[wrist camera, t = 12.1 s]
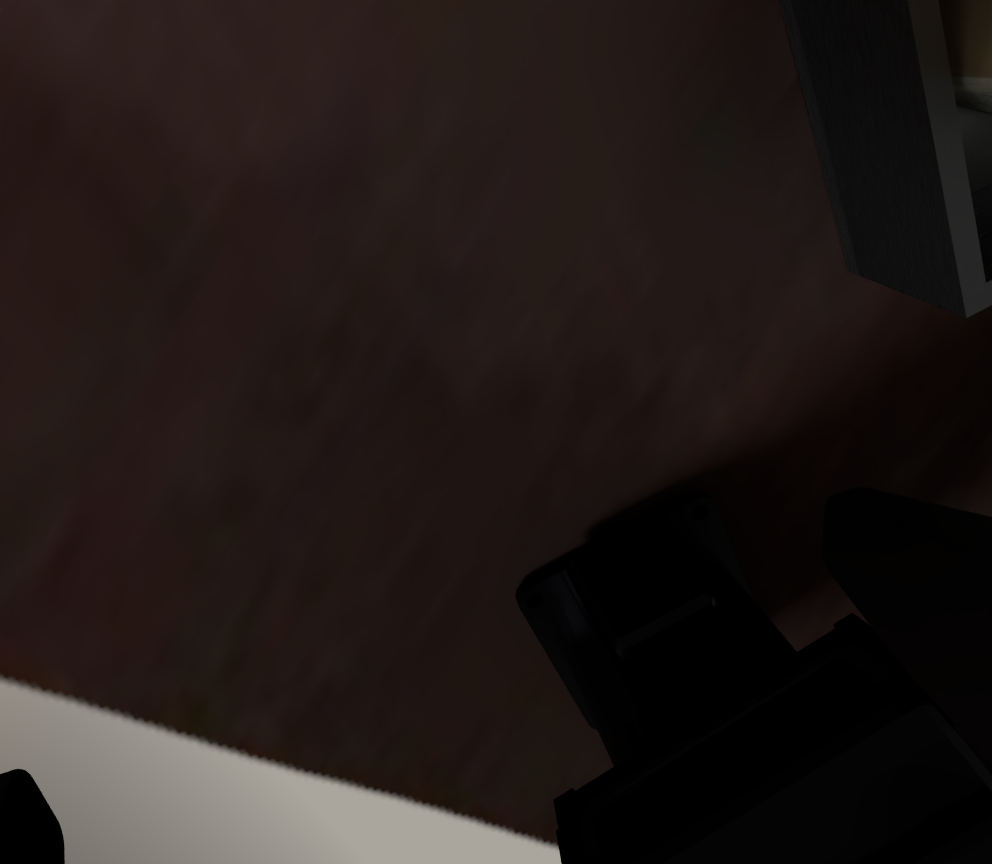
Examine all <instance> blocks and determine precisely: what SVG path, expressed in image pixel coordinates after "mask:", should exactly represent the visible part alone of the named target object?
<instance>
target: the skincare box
mask: <svg viewBox="0 0 992 864" xmlns="http://www.w3.org/2000/svg"><path fill="white" fill-rule="evenodd" d="M938 1H939V7H940V13H941V19H942V25H943V31H944V37H945V43H946V49H947V55H948V60H949V66H950V72H951V78H952V84H953V90H954V96H955V102H956V105H958V106H962V107H967V108H971V109H976V110H980V111H984V112H989V113H992V0H938Z"/></svg>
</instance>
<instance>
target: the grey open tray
mask: <svg viewBox="0 0 992 864" xmlns="http://www.w3.org/2000/svg"><path fill="white" fill-rule="evenodd" d="M780 4H781V8H782V12H783V16H784V20H785V24H786V28H787V32H788V35H789V39H790V43H791V47H792V51H793V55H794V59H795V63H796V67H797V71H798V75H799V79H800V83H801V86H802V90H803V94H804V98H805V102H806V106H807V110H808V114H809V118H810V122H811V126H812V130H813V134H814V137H815V141H816V145H817V149H818V153H819V157H820V161H821V165H822V169H823V173H824V177H825V181H826V185H827V188H828V192H829V196H830V200H831V204H832V208H833V212H834V216H835V220H836V224H837V228H838V232H839V236H840V239H841V243H842V247H843V251H844V255H845V259H846V263H847V267H848V271H849V272H851V273H854V274H856V275H859V276H861V277H864V278H866V279H869V280H871V281H874V282H876V283H879V284H881V285H884V286H886V287H889V288H892V289H894V290H897V291H899V292H902V293H904V294H907V295H909V296H912V297H914V298H917V299H919V300H922V301H924V302H927V303H929V304H932V305H934V306H937V307H939V308H942V309H944V310H947V311H949V312H952V313H954V314H957V315H960V316H962V317H965V318H968V317H970V316H972V315H974V314H976V313H977V312H979V311H981V310H983V309H985V308H987V307H989V306H990V305H992V113H989V112H984V111H980V110H976V109H971V108H967V107H962V106H958V105H956V102H955V96H954V90H953V84H952V78H951V72H950V66H949V60H948V55H947V49H946V43H945V37H944V31H943V25H942V19H941V13H940V7H939V1H938V0H780Z"/></svg>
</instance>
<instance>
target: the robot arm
mask: <svg viewBox="0 0 992 864" xmlns="http://www.w3.org/2000/svg"><path fill="white" fill-rule="evenodd" d="M699 505H703V506H702V508H701V510H699V511H698V512H696V513H693V511H694V509H695V508H696V507H697V506H699ZM822 554H823V559H824V562H825V565H826V567H827V569H828V570H829V572H830V573H831V575H832V576H833V577H834V579H835V580H836V581H837V583H838V584H839V585H840V586H841V588H842V589H843V590H844V592H845V593H846V594H847V596H848V597H849V598H850V600H851V601H852V602H853V603H854V605H855V606H856V607H857V609H858V610H859V611H860V613H861V614H862V615H863V616H864V618H865V619H866V620H867V622H868V623H869V624H870V625H868V624H867V623H866V622H864V621H863V620H862V619H860V618H859V617H858V616H856V615H855V614H853V613H851V614H849V615H848V616H846V617H845V618H843V619H841V620H840V621H838V622H837V623H835V624H834V628H835V629H833V630H832V631H830V632H829V633H827V634H825V635H824V636H822V637H821V638H819V639H817V640H816V641H814V642H813V643H811V644H809V645H808V646H806V647H805V648H803V649H801V650H800V651H798V652H797V651H796V650H795V649H794V648H793V646H792V645H791V644H790V643H789V642H788V641H787V639H786V638H785V637H784V636H783V635H782V633H781V632H780V631H779V630H778V629H777V627H776V626H775V625H774V624H773V623H772V621H771V620H770V619H769V618H768V617H767V616H766V614H765V613H764V612H763V611H762V610H761V608H760V607H759V606H758V605H757V604H756V602H755V601H754V599H753V597H752V594H751V592H750V589H749V587H748V584H747V582H746V579H745V577H744V574H743V572H742V569H741V567H740V564H739V562H738V559H737V557H736V554H735V552H734V549H733V546H732V544H731V541H730V539H729V536H728V534H727V531H726V529H725V526H724V524H723V521H722V519H721V516H720V514H719V511H718V509H717V506H716V504H715V503H714V501H713V500H712V499H711V498H710V497H709V496H708V495H707V494H706V493H704V492H702V491H694V492H691V493H689V494H687V495H685V496H683V497H681V498H679V499H678V500H676V501H674V502H672V503H670V504H668V505H666V506H665V507H663V508H661V509H659V510H657V511H655V512H653V513H651V514H650V515H648V516H646V517H644V518H641V519H639V520H638V521H636V522H634V523H632V524H630V525H628V526H626V527H624V528H623V529H621V530H619V531H617V532H615V533H613V534H611V535H610V536H608V537H606V538H604V539H602V540H600V541H598V542H596V543H595V544H593V545H591V546H589V547H587V548H585V549H583V550H582V551H580V552H578V553H576V554H574V555H573V556H571V557H569V558H567V559H565V560H564V561H562V562H560V563H558V564H556V565H554V566H552V567H550V568H549V569H547V570H545V571H543V572H541V573H539V574H537V575H536V576H534V577H532V578H530V579H528V580H526V581H525V582H523V583H522V584H521V585H520V586H519V587H518V589H517V590H516V595H515V596H516V600H517V602H518V605H519V607H520V609H521V611H522V613H523V615H524V616H525V618H526V620H527V621H528V623H529V625H530V626H531V628H532V630H533V631H534V633H535V635H536V636H537V638H538V640H539V642H540V643H541V645H542V647H543V648H544V650H545V652H546V653H547V655H548V657H549V658H550V660H551V662H552V664H553V665H554V667H555V669H556V670H557V672H558V674H559V675H560V677H561V679H562V680H563V682H564V684H565V685H566V687H567V689H568V691H569V692H570V694H571V696H572V697H573V699H574V701H575V702H576V704H577V706H578V707H579V709H580V711H581V713H582V714H583V716H584V718H585V719H586V721H587V723H588V724H589V726H590V727H591V728H593V729H596V730H598V732H599V734H600V737H601V739H602V741H603V743H604V745H605V748H606V750H607V752H608V754H609V757H610V759H611V761H612V763H613V765H614V767H613V768H611V769H610V770H608V771H606V772H605V773H603V774H602V775H600V776H598V777H597V778H595V779H594V780H592V781H590V782H589V783H587V784H586V785H584V786H582V787H581V788H579V789H578V790H576V791H575V790H574V789H573V788H571V789H570V790H568V791H567V792H565V793H563V794H562V795H560V796H559V797H557V798H555V799H554V806H555V811H556V817H557V823H558V829H557V830H556V834H557V840H558V845H559V851H560V857H561V863H562V864H992V517H989V516H985V515H981V514H977V513H972V512H968V511H964V510H960V509H955V508H951V507H947V506H943V505H938V504H934V503H930V502H926V501H921V500H917V499H913V498H908V497H904V496H900V495H896V494H891V493H887V492H883V491H879V490H874V489H870V488H866V487H855V488H851V489H848V490H845V491H842V492H839V493H836V494H833V495H832V496H830V497H829V498H828V499H827V501H826V503H825V508H824V524H823V543H822ZM536 593H537V594H539V596H538V597H537V598H536V599H533V600H527V599H528V597H530V596H531V595H532V594H536ZM64 863H65V860H64V840H63V834H62V830H61V827H60V824H59V822H58V820H57V818H56V816H55V815H54V813H53V812H52V810H51V808H50V806H49V805H48V803H47V801H46V800H45V798H44V796H43V795H42V793H41V791H40V789H39V788H38V786H37V784H36V783H35V781H34V779H33V778H32V777H31V775H30V774H29V773H28V772H27V771H25V770H22V769H14V770H11V771H9V772H6V773H3V774H0V864H64Z"/></svg>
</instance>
